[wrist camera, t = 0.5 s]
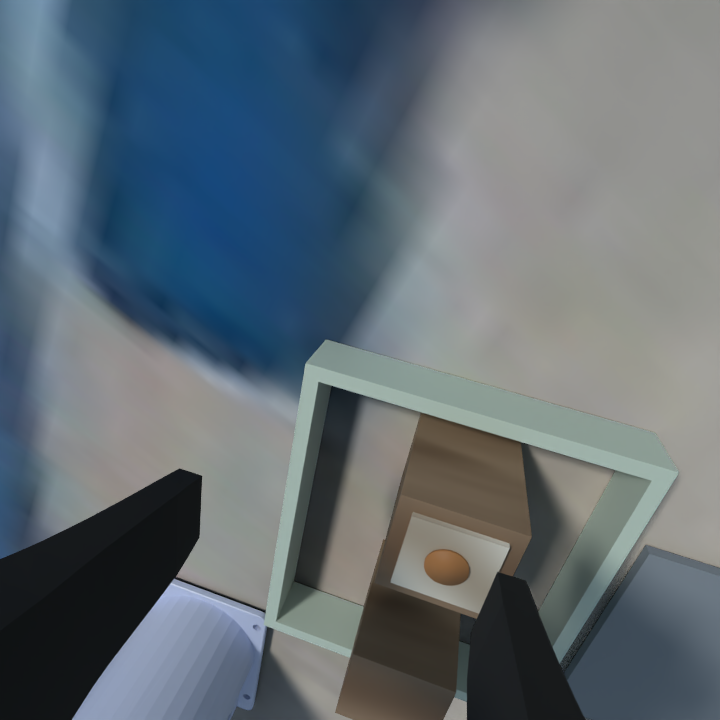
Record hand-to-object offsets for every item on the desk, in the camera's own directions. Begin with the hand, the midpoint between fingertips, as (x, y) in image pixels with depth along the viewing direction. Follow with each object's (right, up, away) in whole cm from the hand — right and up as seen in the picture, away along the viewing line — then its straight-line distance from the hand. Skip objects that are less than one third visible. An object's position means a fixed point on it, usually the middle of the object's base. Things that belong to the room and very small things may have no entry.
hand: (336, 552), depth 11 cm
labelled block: (+5, 0, +9) cm, 10 cm away
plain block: (+3, -7, +13) cm, 15 cm away
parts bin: (+4, -3, +11) cm, 12 cm away
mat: (+17, -10, +10) cm, 22 cm away
